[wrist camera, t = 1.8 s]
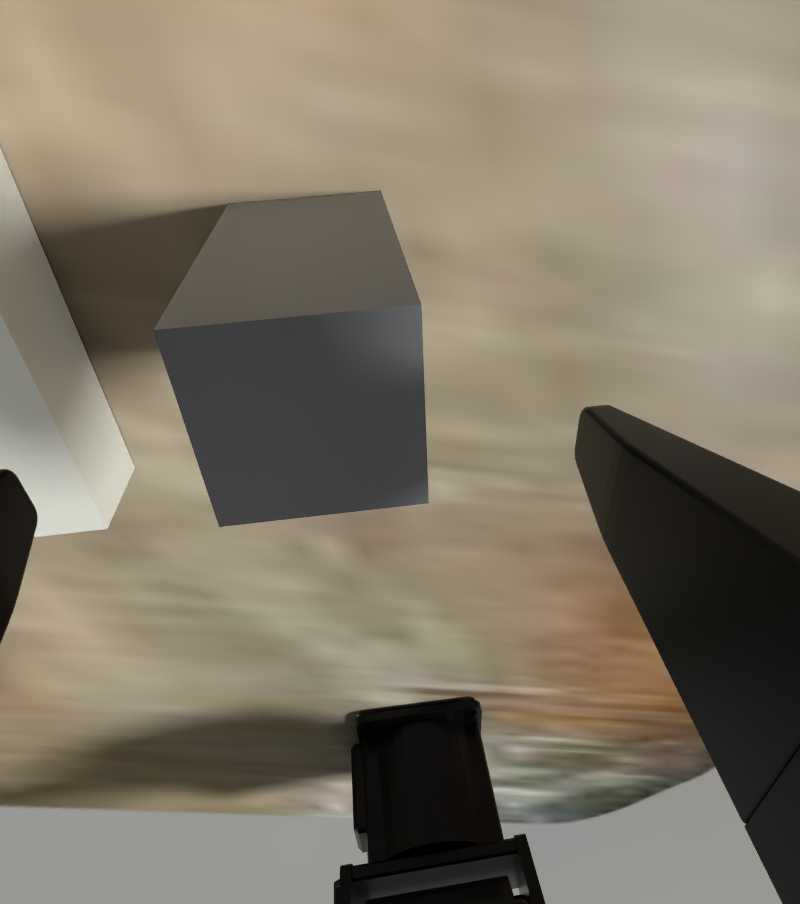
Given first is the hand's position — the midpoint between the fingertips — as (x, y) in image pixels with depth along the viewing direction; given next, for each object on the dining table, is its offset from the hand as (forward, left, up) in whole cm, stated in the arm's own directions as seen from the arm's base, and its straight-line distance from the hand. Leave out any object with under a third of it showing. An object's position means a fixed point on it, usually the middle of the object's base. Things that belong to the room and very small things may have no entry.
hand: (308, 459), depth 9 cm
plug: (0, 0, -9) cm, 9 cm away
